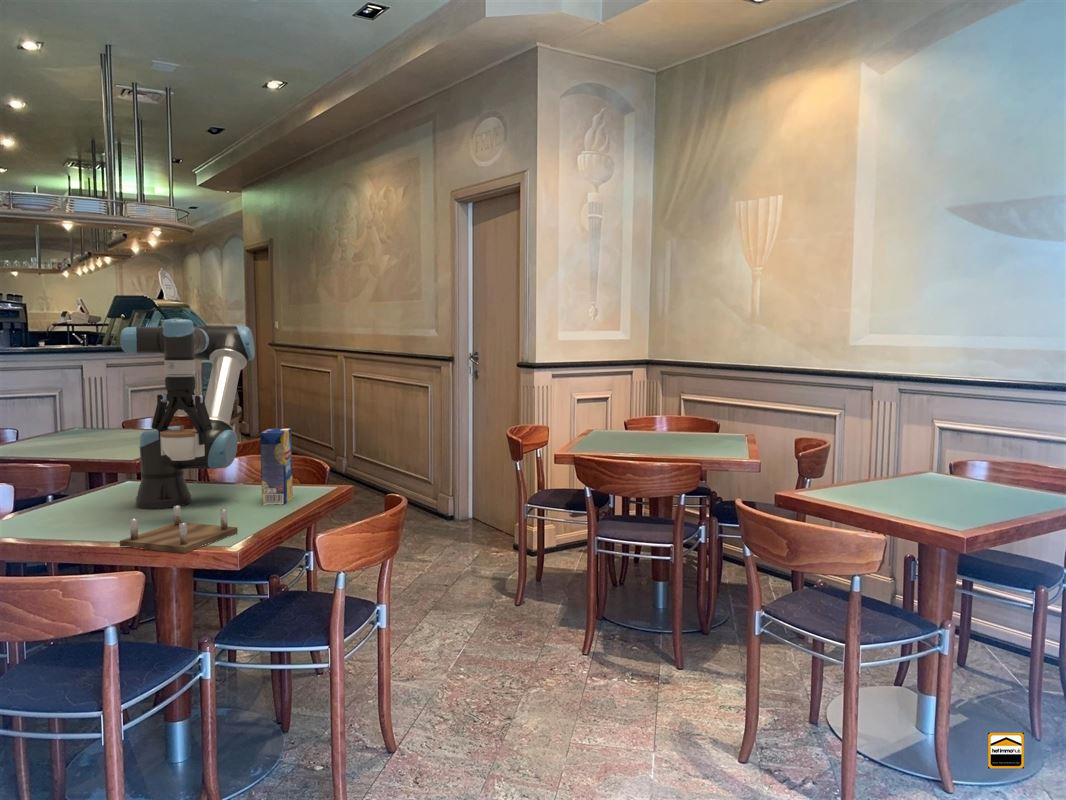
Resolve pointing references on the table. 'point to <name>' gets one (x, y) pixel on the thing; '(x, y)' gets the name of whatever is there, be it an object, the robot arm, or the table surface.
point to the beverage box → (276, 466)
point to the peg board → (178, 537)
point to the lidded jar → (179, 443)
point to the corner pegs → (177, 522)
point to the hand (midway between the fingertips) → (182, 455)
